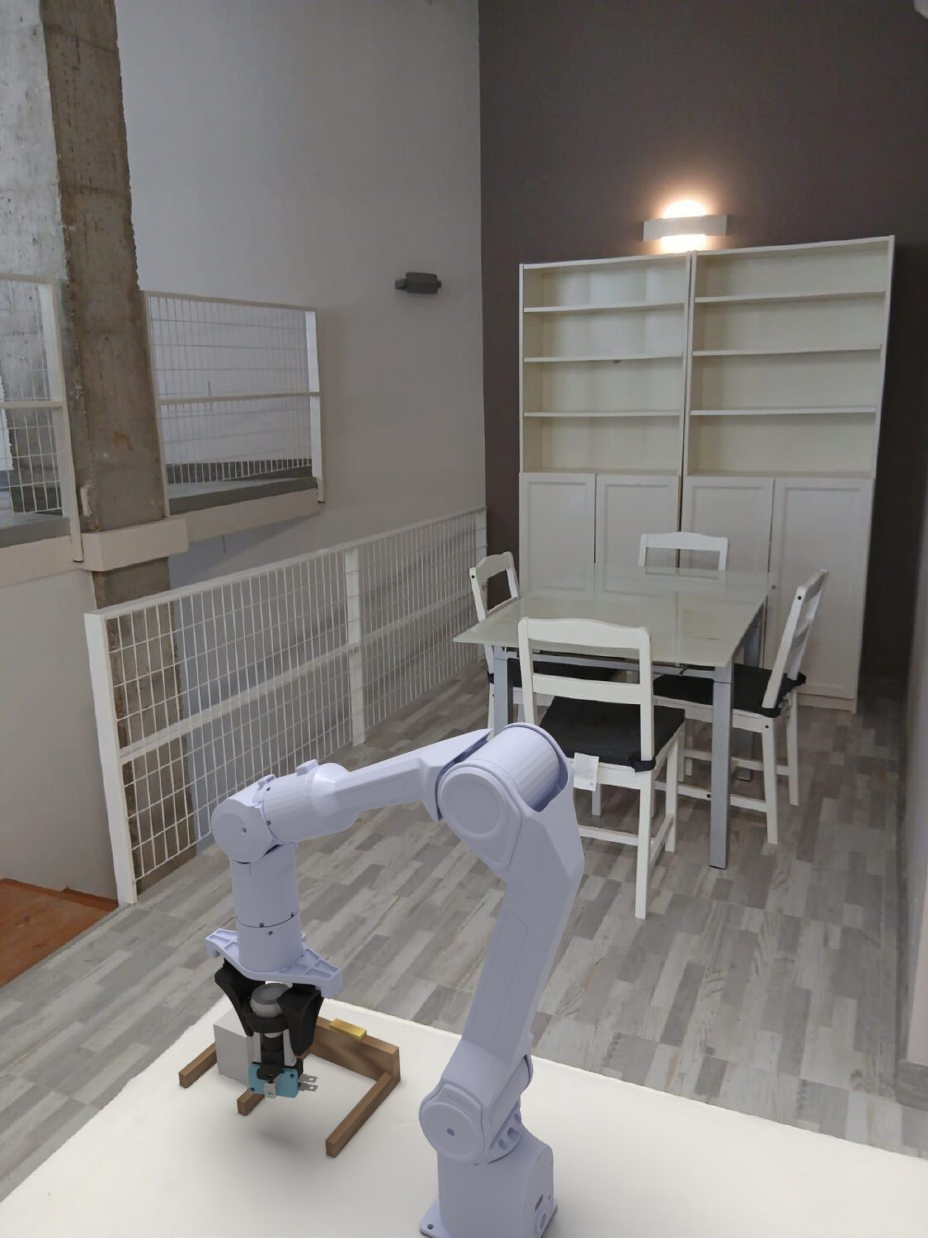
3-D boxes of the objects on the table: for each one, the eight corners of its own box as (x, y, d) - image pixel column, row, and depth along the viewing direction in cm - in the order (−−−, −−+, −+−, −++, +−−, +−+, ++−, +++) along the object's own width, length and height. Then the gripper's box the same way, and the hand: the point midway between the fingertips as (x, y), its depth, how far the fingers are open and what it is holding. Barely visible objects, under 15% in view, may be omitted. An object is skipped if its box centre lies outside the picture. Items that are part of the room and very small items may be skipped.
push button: (325, 1075, 89) (322, 981, 87) (306, 1115, 84) (302, 1016, 82) (260, 1067, 90) (255, 974, 88) (237, 1105, 85) (232, 1008, 83)
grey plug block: (285, 1054, 100) (281, 1006, 98) (250, 1087, 95) (245, 1037, 94) (254, 1041, 102) (249, 993, 100) (218, 1073, 97) (213, 1023, 96)
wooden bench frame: (400, 1080, 95) (398, 1042, 94) (334, 1158, 86) (331, 1116, 85) (253, 1021, 105) (250, 985, 104) (179, 1085, 96) (175, 1047, 94)
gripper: (359, 907, 83) (367, 1037, 86) (237, 872, 90) (249, 993, 93) (310, 949, 77) (321, 1086, 81) (183, 907, 84) (198, 1035, 87)
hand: (279, 1039), depth 87 cm, fingers closed on push button, 5 cm apart
